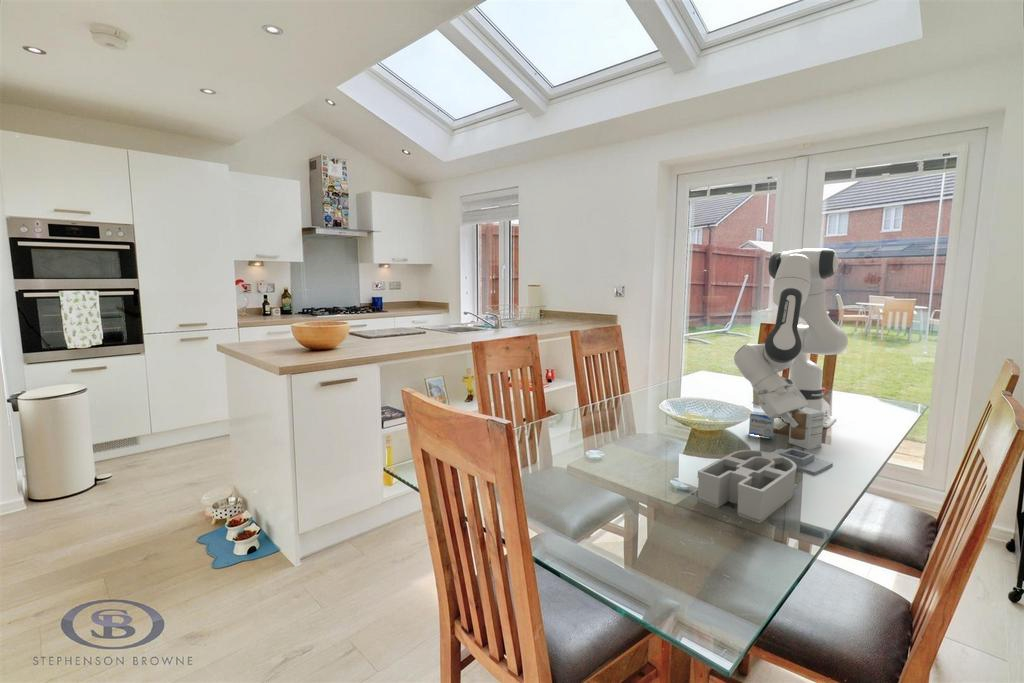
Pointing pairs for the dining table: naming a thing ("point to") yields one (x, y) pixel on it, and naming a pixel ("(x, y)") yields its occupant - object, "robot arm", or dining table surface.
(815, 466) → the hub plate
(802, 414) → the knob
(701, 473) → the grey compartment organizer
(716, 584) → the dining table surface
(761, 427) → the medicine box
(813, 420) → the supplement box
